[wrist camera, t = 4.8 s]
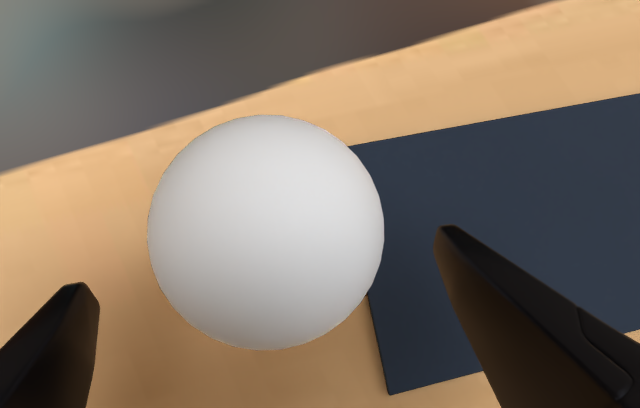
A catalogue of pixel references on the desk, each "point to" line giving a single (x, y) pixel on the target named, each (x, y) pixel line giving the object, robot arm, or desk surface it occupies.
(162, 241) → the white rounded smooth part
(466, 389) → the desk surface
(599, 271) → the felt mat
